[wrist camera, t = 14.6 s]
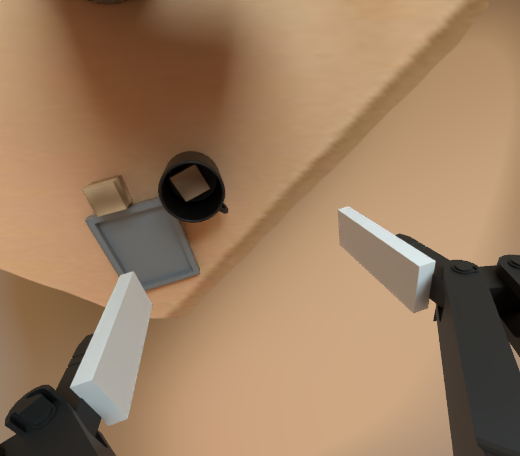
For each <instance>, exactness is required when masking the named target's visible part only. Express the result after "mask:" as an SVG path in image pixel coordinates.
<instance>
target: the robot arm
mask: <svg viewBox="0 0 520 456" xmlns="http://www.w3.org/2000/svg"><path fill="white" fill-rule="evenodd" d="M90 1H93V2H97V3H105V4H113V3H119V2H123V1H126V0H90ZM338 222H339V239H340V245H341V246H342V247H343V248H344V249H345V250H346V251H347V252H348V253H349V254H351V256H353V257H354V258H355V259H356V260H357V261H358V262H359V263H360V264H361V265H362V266H363V267H364V268H365V269H367V270H368V271H369V272H370V273H371V274H372V275H373V276H374V277H375V278H376V279H377V280H378V281H379V282H380V283H382V284H383V285H384V286H385V287H386V288H387V289H388V290H389V291H390V292H391V293H393V295H395V296H396V297H397V298H398V299H399V300H400V301H401V302H402V303H403V304H404V305H405V306H406V307H407V308H408V309H410V310H411V311H412V312H413V313H416V312H418V311H421V310H424V309H426V308H428V304H429V298H430V299H431V300H432V301H434V302H435V303H436V310H435V315H434V320H433V321H436V320H437V325H438V333H439V342H440V350H441V358H442V366H443V374H444V382H445V390H446V398H447V406H448V415H449V423H450V431H451V438H452V446H453V455H454V456H520V371H519V368H518V366H517V363H516V360H515V358H514V355H513V352H512V349H511V347H510V344H511V345H512V346H513V348H514V349H515V351H516V352H517V354H518V355H519V357H520V255H504V256H502V257H500V258H499V260H498V263H497V265H495V266H484V267H478V266H477V265H475V264H473V263H471V262H468V261H463V260H448V259H446V258H445V257H443V256H442V255H440V254H438V253H437V252H435V251H433V250H432V249H430V248H428V247H425V245H423V244H421V243H418V241H416V240H415V239H412V238H411V237H409V236H406V235H402V234H397V235H393V234H392V233H390V232H388V231H387V230H385V229H384V228H382V227H380V226H379V225H377V224H376V223H374V222H373V221H371V220H370V219H368V218H366V217H365V216H363V215H361V214H360V213H358V212H357V211H355V210H354V209H352V208H350V207H344V208H341V209H338ZM152 305H153V304H152V303H151V301H150V299H149V297H148V296H147V294H146V292H145V290H144V289H143V287H142V285H141V283H140V282H139V280H138V278H137V276H136V274H135V273H134V271H132V272H129V273H126V274H122V275H120V277H119V279H118V281H117V284H116V286H115V288H114V290H113V293H112V295H111V297H110V299H109V301H108V304H107V306H106V308H105V310H104V313H103V315H102V317H101V319H100V321H99V324H98V326H97V328H96V331H95V333H94V334H91V335H88V336H86V337H85V338H84V339H83V341H82V342H81V343H80V344H79V346H78V347H77V349H76V351H75V353H74V355H73V357H72V358H73V359H71V361H70V363H69V365H68V368H67V369H66V371H65V373H64V375H63V377H62V379H61V381H60V383H59V385H58V387H57V389H56V390H54V389H53V388H52V387H51V386H50V385H42V386H39V387H37V388H35V389H33V390H31V391H30V392H28V393H27V394H25V395H24V396H23V397H22V398H21V399H20V400H19V401H17V403H16V404H15V405H14V406H13V408H12V409H11V410H10V411H9V413H8V415H7V417H6V419H5V426H6V427H8V428H10V429H11V430H12V431H14V432H15V433H16V435H14V436H13V437H11V438H9V439H8V440H6V441H4V442H3V443H1V444H0V456H116V455H115V453H114V452H113V450H112V449H111V447H110V446H109V444H108V443H107V441H106V440H105V438H104V436H103V435H102V433H101V432H99V431H98V427H99V424H100V421H101V419H102V420H103V421H104V422H105V423H106V424H107V425H108V426H109V425H112V424H115V423H117V422H120V421H123V420H126V419H128V415H129V411H130V407H131V402H132V397H133V393H134V388H135V383H136V379H137V374H138V369H139V365H140V360H141V355H142V351H143V346H144V342H145V337H146V333H147V328H148V323H149V319H150V314H151V310H152ZM509 342H510V344H509Z"/></svg>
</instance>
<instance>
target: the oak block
mask: <svg viewBox="0 0 520 456" xmlns="http://www.w3.org/2000/svg"><path fill="white" fill-rule="evenodd" d="M82 191H83V193H84V195H85V196H86V198H87V200H88V201H89V203H90V205H91V207H92V208H93V210H94V212H95V214H96V215H97V217H99V216H102V215H106V214H109V213H113V212H117V211H120V210H124V209H127V207H128V206H129V204H130V203H131V202H132V198H131V196H130V193H129V191H128V189H127V187H126V185H125V183H124V181H123V179H122V177H121V175H119V176H115V177H111V178H108V179H104V180H100V181H96V182H92V183H91V184H90V185H88V186H87V187H85V188H84V189H83V190H82Z"/></svg>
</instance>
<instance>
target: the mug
mask: <svg viewBox="0 0 520 456" xmlns="http://www.w3.org/2000/svg"><path fill="white" fill-rule="evenodd" d="M185 164H198V165H199V166H200V168H201V170H202V171H203V173H204V175H205V176H206V178H207V180H208V181H209V185H210V189H209V190H207V191H205V192H203V193H201V194H200V195H198V196H196V197H194V198H192V199H191V200H189V201H187V202H186V201H185V200H184V198H183V197H182V195H181V194H180V192H179V191H178V190H177V188H176V187H175V185H174V184H173V182H172V181H171V179H170V176H171V173H172V171H174V170H176V169H178V168H180V167H182V166H183V165H185ZM158 193H159V198H160V201H161V203H162V205H163V207H164V208H165V210H166V211H167V212H168V213H169V214H170V215H172V216H173V217H175V218H177V219H179V220H181V221H185V222H191V223H195V222H202V221H205V220H207V219H209V218H211V217H213V216H214V215H215V214H216V213H217V212H218V211H220V212H222V213H225V214H226V213H228V208H227V206H226V205H225V204H224V203H223V202H224V198H225V187H224V183H223V181H222V178H221V176H220V173H219V170H218V168H217V166H216V164H215V163H214V162H213V161H212V160H211V159H210V158H209V157H207V156H206V155H204V154H202V153H199V152H194V151H188V152H183V153H180V154H178V155H176V156H175V157H174V158H172V159H171V160H170V162H169V163H168V165H167V167H166V169H165V171H164V173H163V175H162V177H161V179H160V182H159V188H158Z"/></svg>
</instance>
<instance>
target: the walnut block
mask: <svg viewBox="0 0 520 456" xmlns="http://www.w3.org/2000/svg"><path fill="white" fill-rule="evenodd" d="M170 179H171V181H172V182H173V184H174V185H175V187H176V188H177V190H178V191H179V192H180V194H181V195H182V197H183V198H184V200H185V201H186V202H187V201H189V200H191V199H192V198H194V197H196V196H198V195H200V194H201V193H203V192H205V191H207V190H209V189H210V185H209V181H208V180H207V178H206V176H205V175H204V173H203V171H202V170H201V168H200V166H199V165H198V164H185V165H183V166H182V167H180V168H178V169H176V170H174V171H172V173H171V176H170Z"/></svg>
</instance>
